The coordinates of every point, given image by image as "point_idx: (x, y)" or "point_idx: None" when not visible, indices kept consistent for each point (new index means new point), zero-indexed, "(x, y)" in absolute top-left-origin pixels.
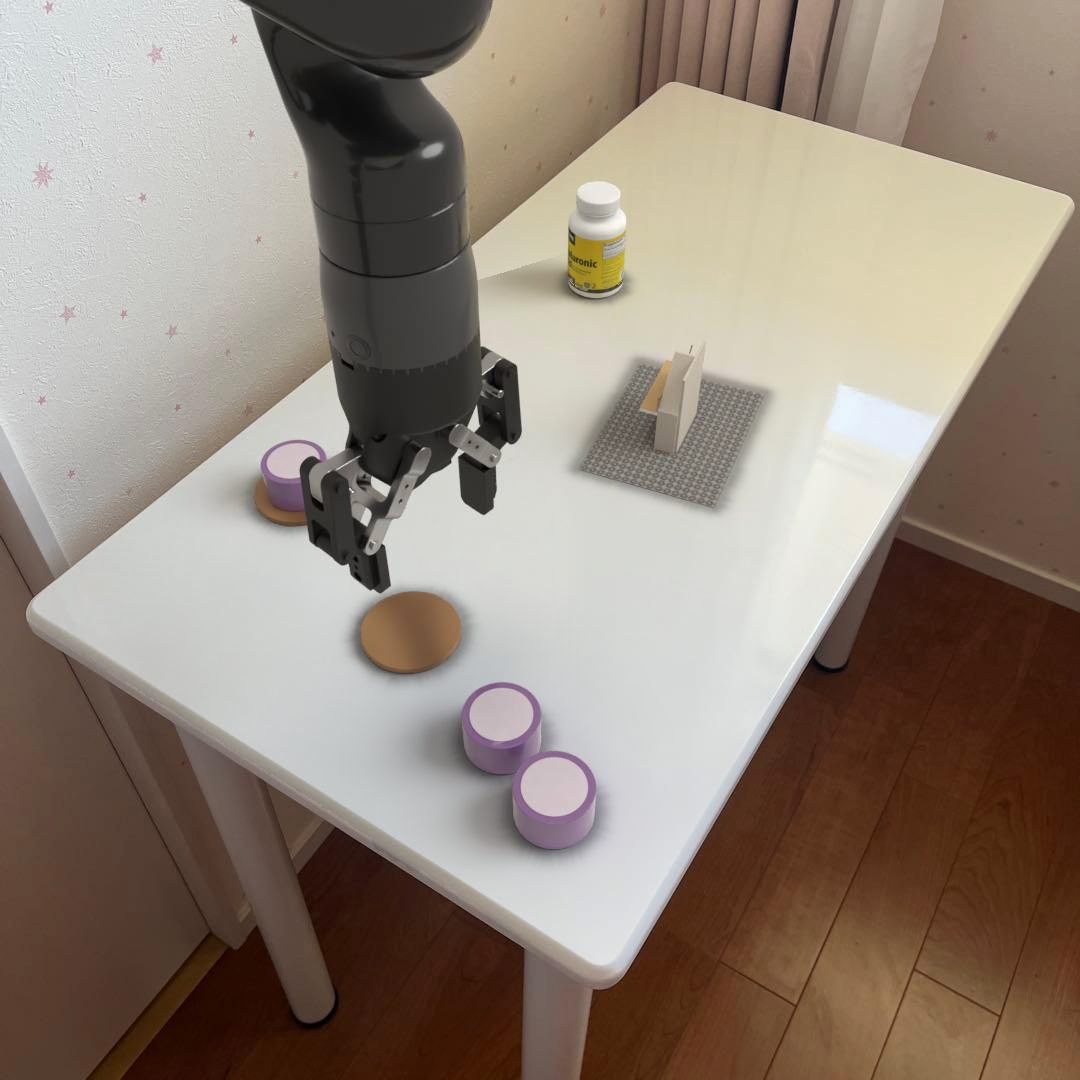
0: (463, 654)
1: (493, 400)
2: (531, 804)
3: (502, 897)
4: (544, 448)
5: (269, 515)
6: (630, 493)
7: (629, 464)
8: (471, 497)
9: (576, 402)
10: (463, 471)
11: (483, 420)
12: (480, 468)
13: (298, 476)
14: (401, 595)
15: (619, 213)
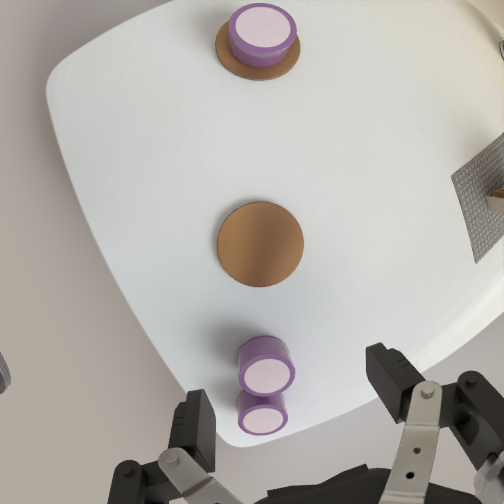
0: (283, 285)
1: (481, 455)
2: (245, 423)
3: None
4: (445, 139)
5: (219, 55)
6: (458, 220)
7: (471, 197)
8: (373, 368)
9: (475, 121)
10: (390, 384)
11: (463, 401)
12: (401, 416)
13: (256, 45)
14: (274, 208)
15: None
